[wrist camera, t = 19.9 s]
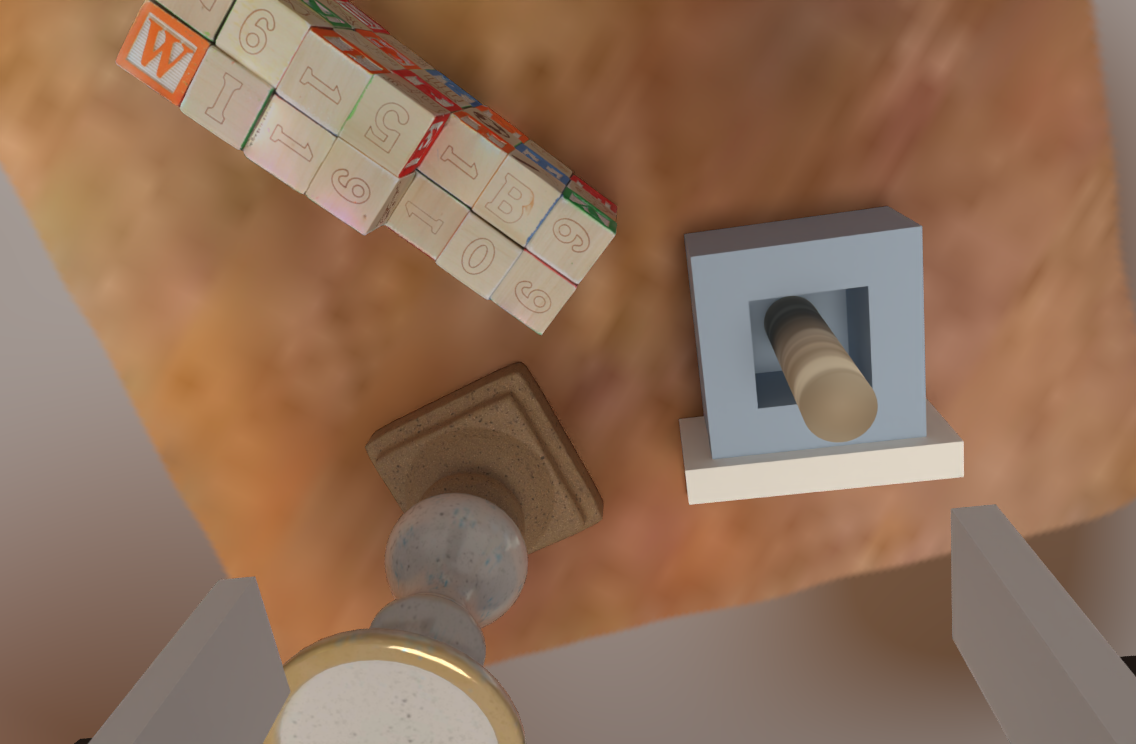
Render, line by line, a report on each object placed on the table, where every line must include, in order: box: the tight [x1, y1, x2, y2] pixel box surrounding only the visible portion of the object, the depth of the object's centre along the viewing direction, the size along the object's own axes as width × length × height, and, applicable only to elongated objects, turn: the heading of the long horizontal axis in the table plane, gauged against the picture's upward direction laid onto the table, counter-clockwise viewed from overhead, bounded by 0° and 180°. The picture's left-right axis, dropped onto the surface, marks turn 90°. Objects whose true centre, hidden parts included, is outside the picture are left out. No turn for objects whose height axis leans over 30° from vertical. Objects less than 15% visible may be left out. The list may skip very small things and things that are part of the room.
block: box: [684, 206, 927, 459], centre depth 47 cm, size 11×11×6 cm
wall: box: [679, 398, 964, 505], centre depth 49 cm, size 5×14×7 cm, turn 99°
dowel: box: [764, 296, 878, 443], centre depth 43 cm, size 3×3×14 cm
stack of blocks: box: [116, 0, 617, 335], centre depth 42 cm, size 21×6×12 cm, turn 54°
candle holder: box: [263, 362, 603, 744], centre depth 43 cm, size 11×11×24 cm
